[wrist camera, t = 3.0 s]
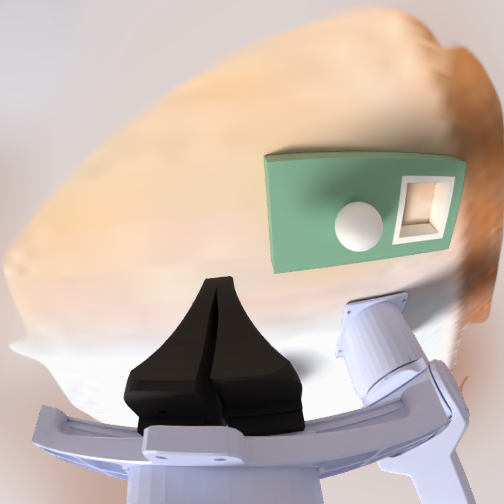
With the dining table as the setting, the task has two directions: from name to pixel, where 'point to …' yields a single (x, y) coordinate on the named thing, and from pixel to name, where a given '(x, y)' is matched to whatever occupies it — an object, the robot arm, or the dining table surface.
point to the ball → (358, 226)
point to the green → (355, 190)
